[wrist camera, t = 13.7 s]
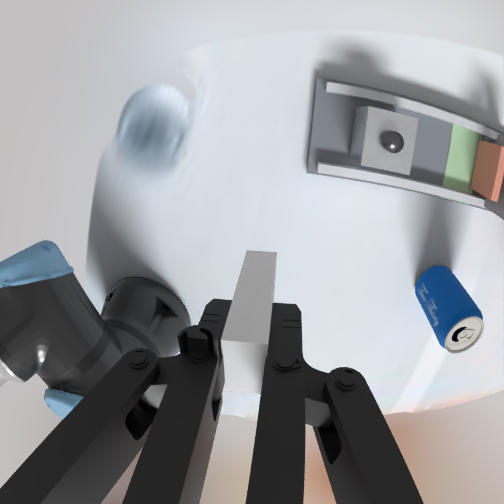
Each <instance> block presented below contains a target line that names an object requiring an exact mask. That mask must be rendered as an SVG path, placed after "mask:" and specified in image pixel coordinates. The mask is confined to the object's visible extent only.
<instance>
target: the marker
mask: <svg viewBox="0 0 504 504" xmlns="http://www.w3.org/2000/svg"><path fill="white" fill-rule="evenodd" d="M503 175H504V147H502V146H499V145H496V144H492V143H489V142H485V141H481V140H479V144H478V150H477V156H476V162H475V167H474V172H473V177H472V181H471V186H470V188H471V189H473V190H474V191H476V192H478V193H480V194H481V195H483V196H485V197H486V198H488V199H490V200H492V201H495V202H497V201H498V197H499V193H500V189H501V185H502V180H503Z"/></svg>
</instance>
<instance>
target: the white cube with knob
mask: <svg viewBox="0 0 504 504" xmlns="http://www.w3.org/2000/svg"><path fill="white" fill-rule="evenodd" d="M417 125H418V118H415V117H411V116H407V115H404V114H400V113H396V112H392V111H388V110H384V109H379V108H375V107H370V106H364V107H355V115H354V124H353V132H352V140H351V148H350V155H349V156H350V157H351V158H352V159H353V160H355V161H356V162H357V163H358V164H360V165H361V166H367V167H372V168H377V169H382V170H387V171H392V172H397V173H401V174H406V175H410V169H411V164H412V158H413V152H414V146H415V139H416V132H417Z"/></svg>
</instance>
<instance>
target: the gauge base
mask: <svg viewBox="0 0 504 504" xmlns="http://www.w3.org/2000/svg"><path fill="white" fill-rule="evenodd" d="M364 106H370V107H375V108H379V109H384V110H388V111H392V112H396V113H400V114H404V115H407V116H411V117H415V118H418V125H417V132H416V139H415V146H414V152H413V158H412V164H411V169H410V175H406V174H401V173H397V172H392V171H387V170H382V169H377V168H372V167H367V166H361V165H360V164H358V163H357V162H356V161H355V160H353V159H352V158H351V157H350V156H349V155H350V148H351V140H352V132H353V124H354V115H355V107H364ZM479 140H481V141H485V142H489V143H492V144H496V145H499V146H502V147H504V133H502V132H500V131H498V130H496V129H493V128H491V127H489V126H487V125H484V124H482V123H480V122H478V121H475V120H473V119H470V118H468V117H465V116H463V115H460V114H458V113H455V112H452V111H450V110H447V109H444V108H441V107H438V106H435V105H432V104H429V103H426V102H423V101H420V100H416V99H413V98H410V97H406V96H403V95H399V94H395V93H391V92H387V91H383V90H379V89H375V88H370V87H366V86H361V85H356V84H351V83H346V82H340V81H334V80H328V79H322V78H317V79H316V88H315V99H314V110H313V120H312V130H311V139H310V148H309V157H308V165H307V173H310V174H317V175H324V176H331V177H338V178H344V179H350V180H356V181H362V182H367V183H373V184H378V185H384V186H389V187H394V188H399V189H403V190H408V191H413V192H417V193H422V194H426V195H431V196H435V197H439V198H443V199H447V200H451V201H455V202H459V203H463V204H466V205H470V206H474V207H477V208H481V209H484V210H488V211H491V212H493V213H495V214H496V215H498V216H499V217H500V218H502V219H503V220H504V175H503V180H502V185H501V189H500V193H499V197H498V201H497V202H495V201H492V200H490V199H488V198H486V197H485V196H483V195H481V194H480V193H478V192H476V191H474V190H473V189H471V188H470V186H471V181H472V177H473V172H474V167H475V162H476V156H477V150H478V144H479Z"/></svg>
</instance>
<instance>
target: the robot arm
mask: <svg viewBox="0 0 504 504" xmlns="http://www.w3.org/2000/svg"><path fill="white" fill-rule="evenodd" d="M276 257H277V252H262V251H247V252H246V256H245V259H244V262H243V266H242V269H241V273H240V276H239V279H238V283H237V286H236V290H235V293H234V296H233V300H223V299H213V300H212V301H210V302H209V303H208V304H207V305H206V307H205V309H204V312H203V315H202V317H201V319H200V322H199V324H198V325H193V326H191V323H190V318H189V315H188V313H187V310H186V309H185V307H184V305H183V304H182V303H181V301H180V300H179V299H178V298H177V297H176V296H175V295H174V294H173V293H172V292H171V291H170V290H168V289H167V288H166V287H164V286H162V285H161V284H159V283H157V282H155V281H152V280H149V279H146V278H141V277H130V278H125V279H123V280H121V281H119V282H118V283H117V284H116V285H115V286H114V287H113V288H112V289H111V290H110V292H109V293H108V295H107V297H106V299H105V302H104V305H103V309H102V312H101V315H100V314H99V313H98V311H97V310H96V308H95V307H94V305H93V304H92V302H91V301H90V299H89V298H88V296H87V295H86V293H85V291H84V290H83V288H82V287H81V285H80V283H79V282H78V280H77V278H76V276H75V275H74V273H73V271H74V269H73V268H72V267H70V265H69V264H68V262H67V261H66V259H65V257H64V256H63V254H62V253H61V251H60V249H59V248H58V246H57V245H56V244H55V243H53V242H52V241H47V240H45V241H41V242H38V243H36V244H34V245H32V246H30V247H28V248H26V249H24V250H23V251H20V252H18V253H16V254H15V255H13V256H11V257H9V258H7V259H5V260H3V261H1V262H0V387H1V386H2V385H3V384H4V383H5V382H6V381H7V380H13V381H18V382H22V383H24V382H26V381H27V380H28V379H30V377H32V376H33V375H34V374H35V373H37V374H38V375H39V376H40V377H41V378H42V380H43V381H44V382H45V383H46V384H47V385H48V387H49V388H48V389H46V390H45V395H44V400H45V402H46V403H47V405H48V407H49V408H50V409H51V410H52V411H53V412H54V413H56V414H57V415H58V416H59V417H60V418H62V419H63V420H62V421H61V422H60V423H59V424H58V425H57V427H56V428H55V429H54V430H53V431H52V432H51V433H50V434H49V435H48V436H47V437H46V439H45V440H44V441H43V442H42V443H41V444H40V445H39V446H38V447H37V448H36V449H35V451H34V452H33V453H32V454H31V455H30V456H29V457H28V458H27V459H26V460H25V462H24V463H23V464H22V465H21V466H20V467H19V468H18V469H17V471H16V472H15V473H14V474H13V475H12V476H11V477H10V478H9V480H8V481H7V482H6V483H5V484H4V485H3V486H2V487H1V489H0V504H100V503H101V502H102V501H103V499H104V498H105V497H106V496H107V494H108V493H109V492H110V490H111V489H112V488H113V486H114V485H115V484H116V482H117V481H118V480H119V478H120V477H121V475H122V474H123V473H124V472H125V470H126V469H127V467H128V466H129V465H130V463H131V462H132V461H133V459H134V458H135V457H136V455H137V454H138V453H139V451H140V450H141V448H142V447H143V449H142V451H141V454H140V457H139V460H138V462H137V465H136V467H135V470H134V473H133V476H132V478H131V482H130V484H129V487H128V489H127V492H126V495H125V498H124V500H123V503H122V504H199V502H200V498H201V493H202V489H203V485H204V480H205V476H206V472H207V468H208V463H209V459H210V454H211V450H212V446H213V441H214V437H215V433H216V428H217V424H218V419H219V415H220V411H221V406H222V391H223V387H224V388H225V391H234V392H243V393H253V394H261V397H260V405H259V413H258V421H257V429H256V436H255V444H254V450H253V457H252V464H251V472H250V478H249V485H248V491H247V498H246V504H303V497H304V473H305V472H304V471H305V423H306V424H309V425H312V426H313V429H314V432H315V436H316V439H317V442H318V445H319V449H320V451H321V455H322V458H323V461H324V465H325V468H326V471H327V474H328V477H329V481H330V484H331V487H332V491H333V494H334V497H335V500H336V503H337V504H423V501H422V499H421V496H420V494H419V492H418V489H417V487H416V485H415V483H414V480H413V478H412V476H411V474H410V471H409V469H408V467H407V465H406V463H405V460H404V458H403V456H402V454H401V452H400V450H399V448H398V445H397V443H396V441H395V439H394V437H393V435H392V433H391V431H390V429H389V427H388V425H387V423H386V420H385V418H384V416H383V414H382V412H381V410H380V408H379V406H378V404H377V402H376V400H375V398H374V396H373V394H372V392H371V390H370V388H369V386H368V384H367V382H366V380H365V378H364V377H363V376H362V375H361V373H360V372H358V371H356V370H355V369H352V368H348V367H339V368H336V369H334V370H332V371H331V372H330V373H326V372H322V371H319V370H316V369H314V368H312V367H311V366H309V365H308V364H307V363H306V362H305V360H304V358H303V354H302V322H301V311H300V309H299V308H298V306H297V305H296V304H284V303H273V302H274V288H275V273H276ZM179 351H180V354H178V355H176V356H174V355H175V354H177V353H178V352H179Z"/></svg>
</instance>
